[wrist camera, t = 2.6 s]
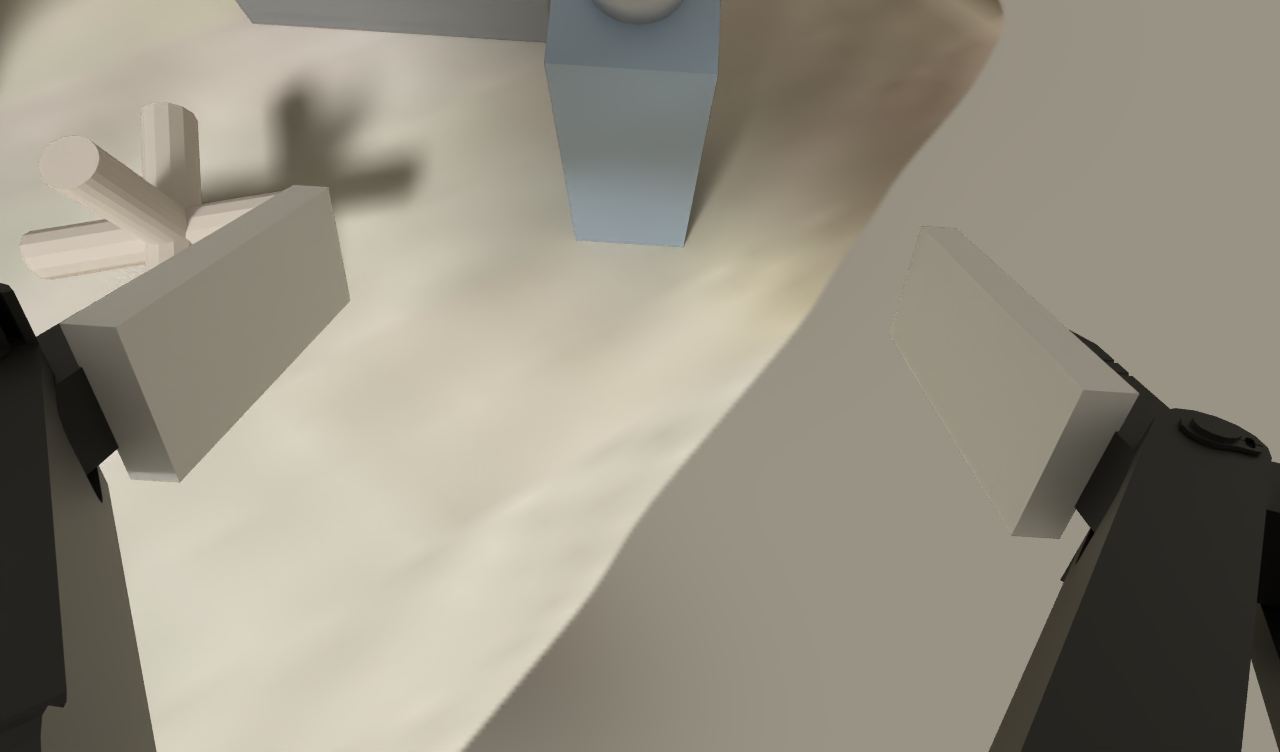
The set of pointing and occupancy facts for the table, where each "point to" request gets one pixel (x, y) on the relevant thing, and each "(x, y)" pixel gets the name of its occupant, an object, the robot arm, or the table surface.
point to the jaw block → (632, 112)
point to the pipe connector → (129, 200)
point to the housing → (411, 16)
